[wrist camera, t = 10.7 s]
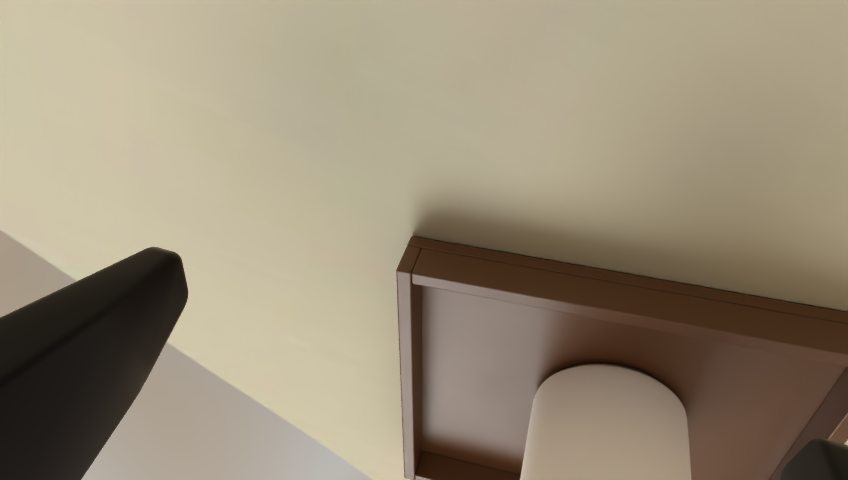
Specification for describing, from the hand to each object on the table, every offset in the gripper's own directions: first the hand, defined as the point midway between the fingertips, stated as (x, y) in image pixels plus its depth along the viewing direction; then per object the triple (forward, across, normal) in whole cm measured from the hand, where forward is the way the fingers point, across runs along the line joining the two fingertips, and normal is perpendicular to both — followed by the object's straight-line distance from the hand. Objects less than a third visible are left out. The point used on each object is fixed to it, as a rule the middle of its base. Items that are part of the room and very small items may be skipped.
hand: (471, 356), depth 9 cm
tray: (+13, -6, +16) cm, 21 cm away
